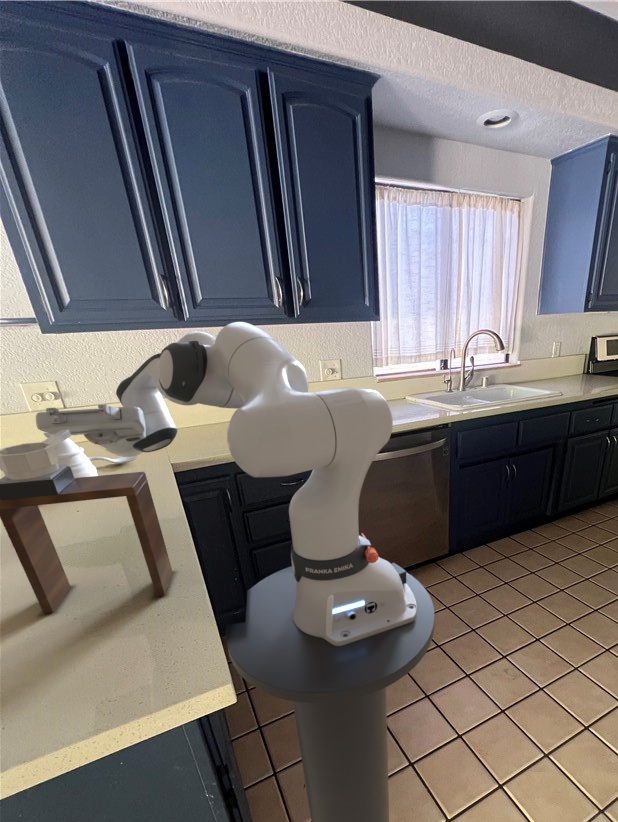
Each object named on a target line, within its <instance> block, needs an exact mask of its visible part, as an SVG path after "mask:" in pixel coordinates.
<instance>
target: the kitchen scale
mask: <svg viewBox="0 0 618 822" xmlns="http://www.w3.org/2000/svg"><path fill="white" fill-rule="evenodd" d="M74 480H75V479H74V476H73V473H72V470H71V468H70V466H68V467H67V464H63V465H59V469H58V470H57V471H55V472H53V473H51V474H48V475H44V476H41V477H36V478H31V479H23V480H10V479H7V478H6V476H5V475H3V476H2V477H1V478H0V500H8V499H18V498H28V497H38V496H48V495H58V494H59V493H60V492H61V491H62V490H64V489H65V488H66V487H67V486H68V485H69V484H70V483H71V482H73V481H74Z"/></svg>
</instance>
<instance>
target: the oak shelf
mask: <svg viewBox="0 0 618 822" xmlns="http://www.w3.org/2000/svg"><path fill="white" fill-rule="evenodd" d="M74 479H75V480H74V481H73V482H71V483H70V484H69V485H68V486H67V487H66V488H65V489H64V490H62V491H61V492H60V493H59V494H58V495H48V496H38V497H28V498H18V499H8V500H0V520H1V522H2V525H3V527H4V529H5V532H6V533H7V536H8V538H9V540H10V542H11V544H12V545H11V546H12V547H13V549H14V551H15V553H16V556H17V558H18V561H19V563H20V564H21V567H22V569H23V571H24V573H25V575H26V578H27V580H28V582H29V585H30V586H31V590H32V591H33V593H34V596H35V598H36V600H37V602H38V605H39V606H40V608H41V611H42V613H43V614H44V615H47V614H48V615H49V614H52V613H55V612H56V610H57V608H58V607H59V605H60V604H61V602H63V600H64V598H65V597H66V595H67V594H68V592H69V591H70V590H71V588H72V587H71V584H70V582H69V580H68V577H67V574H66V572H65V569H64V567H63V564H62V562H61V560H60V557H59V554H58V552H57V549H56V547H55V545H54V542H53V540H52V537H51V535H50V532H49V530H48V527H47V525H46V521H45V520H44V517H43V515H42V513H41V510H40V507H39V506H47V505H54V504H55V505H56V504H64V503H76V502H83V501H85V502H86V501H90V500H91V501H93V500H102V499H113V498H121V497H126V498H125V499H126V501H127V505H128V508H129V511H130V514H131V517H132V521H133V525H134V527H135V530H136V535H137V538H138V541H139V544H140V547H141V550H142V553H143V557H144V561H145V564H146V567H147V570H148V573H149V577H150V580H151V583H152V587H153V590H154V593H155V596H156V598H158V597H163V596H166V594H167V591H168V588H169V586H170V585H169V584H170V582H171V580H172V577H173V573H174V572H173V568H172V565H171V560H170V558H169V553H168V550H167V546H166V543H165V540H164V536H163V532H162V529H161V525H160V521H159V518H158V514H157V510H156V507H155V503H154V500H153V499H154V498H153V496H152V491H151V489H150V485H149V482H148V479H147V473H146V471H135V472H134V471H133V472H126V473H124V472H123V473H114V474H104V475H98V476H92V477H81V478H74Z"/></svg>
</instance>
